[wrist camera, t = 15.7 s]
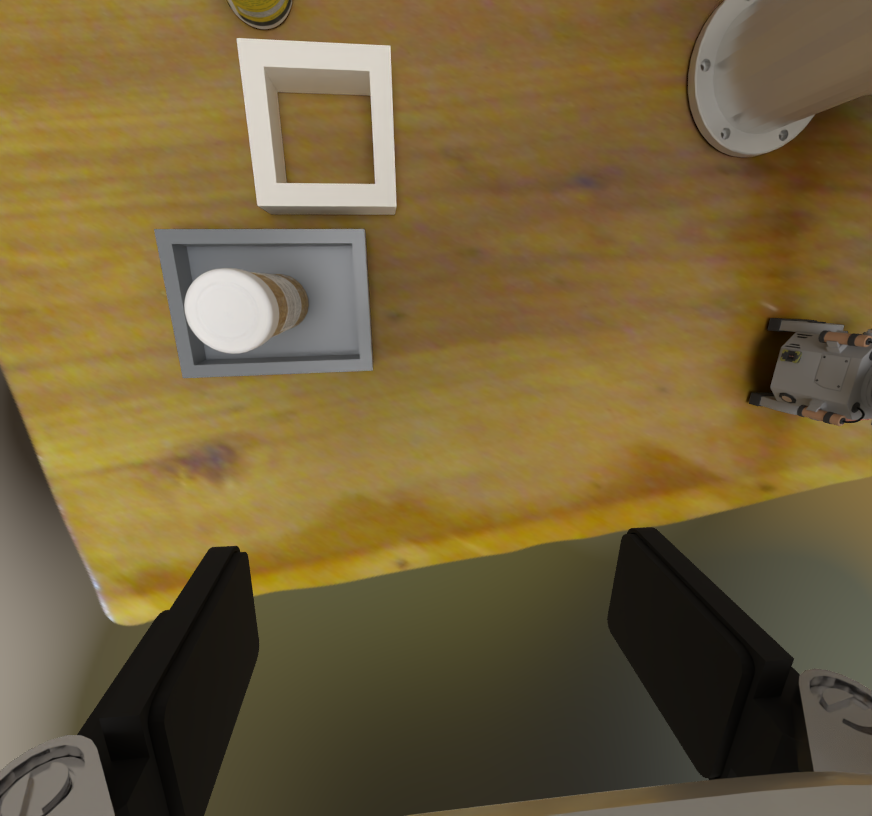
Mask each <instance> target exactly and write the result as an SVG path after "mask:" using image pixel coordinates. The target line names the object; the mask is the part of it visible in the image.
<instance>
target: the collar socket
mask: <svg viewBox="0 0 872 816" xmlns="http://www.w3.org/2000/svg"><path fill="white" fill-rule="evenodd" d="M237 45H238V53H239V61H240V69H241V77H242V85H243V93H244V101H245V109H246V117H247V125H248V133H249V141H250V149H251V157H252V165H253V173H254V181H255V189H256V197H257V205H258V206H259V207H260V208H262V209H263V210H265V211H267V212H268V213H270V214H330V215H395V211H396V207H397V206H396V180H395V154H394V128H393V102H392V76H391V50H390V46H385V45H365V44H345V43H325V42H305V41H285V40H265V39H245V38H237ZM277 92H287V93H315V94H343V95H370V96H371V113H372V132H373V152H374V172H375V184H321V183H287V179H286V170H285V160H284V151H283V141H282V132H281V122H280V113H279V103H278V94H277Z"/></svg>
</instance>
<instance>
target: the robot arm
mask: <svg viewBox="0 0 872 816" xmlns="http://www.w3.org/2000/svg"><path fill="white" fill-rule="evenodd" d="M863 95H872V0H724V1H723V2H722V3H721V4H720V5H719V6H718V7H717V8H716V9H715V10H714V11H713V13H712V14H711V16H710V17H709V19H708V20H707V21H706V23H705V24H704V26H703V28H702V30H701V32H700V34H699V36H698V39H697V41H696V44H695V47H694V50H693V53H692V56H691V61H690V67H689V73H688V96H689V103H690V109H691V112H692V115H693V118H694V121H695V123H696V125H697V127H698V129H699V131H700V132H701V134H702V135H703V137H704V138H705V139H706V140H707V141H708V142H709V144H711V145H712V146H713V147H715V148H716V149H717V150H719V151H720V152H723V153H725V154H728V155H730V156H736V157H743V158H744V157H754V156H758V155H761V154H765V153H768V152H771V151H773V150H775V149H778V148H780V147H782V146H784V145H785V144H786V143H788V142H789V141H791V140H792V139H794V138H795V137H796V136H797V135H798V134H799V133H800V132H801V131H802V130H803V129H804V128H805V127H806V126H807V125H808V123H809V122H810V121H811V119H812V118H813V117H814V115H815V114H817V113H819V112H822V111H825V110H827V109H830V108H832V107H835V106H838V105H840V104H843V103H845V102H848V101H851V100H853V99H856V98H858V97H861V96H863ZM607 620H608V626H609V629H610V632H611V634H612V635H613V637H614V639H615V640H616V642H617V643H618V645H619V647H620V648H621V650H622V651H623V653H624V654H625V656H626V658H627V659H628V661H629V663H630V664H631V666H632V667H633V669H634V671H635V672H636V674H637V675H638V677H639V678H640V680H641V682H642V683H643V685H644V687H645V688H646V690H647V691H648V693H649V695H650V696H651V698H652V699H653V701H654V703H655V704H656V706H657V707H658V709H659V711H660V712H661V714H662V715H663V717H664V718H665V720H666V722H667V723H668V725H669V726H670V728H671V730H672V731H673V733H674V734H675V736H676V738H677V739H678V741H679V742H680V744H681V746H682V747H683V749H684V750H685V752H686V754H687V755H688V757H689V758H690V760H691V762H692V763H693V765H694V766H695V768H696V769H697V771H698V772H699V773H700V774H701V775H702V776H703V777H705V778H709V780H706V781H697V782H689V783H680V784H671V785H662V786H653V787H644V788H635V789H626V790H617V791H608V792H599V793H591V794H582V795H574V796H566V797H557V798H548V799H540V800H532V801H523V802H514V803H506V804H498V805H489V806H481V807H472V808H464V809H456V810H447V811H439V812H432V813H423V814H415V815H407V816H872V690H870V689H868V688H867V687H865V686H863V685H862V684H860V683H859V682H857V681H854V680H852V679H850V678H848V677H846V676H843V675H841V674H838V673H835V672H832V671H828V670H822V669H810V670H805V671H804V672H803V673H802V674H801V675H799V673H798V672H797V671H796V670H795V669H793V668H792V667H791V666H792V663H793V660H794V658H793V657H791V655H789V653H787V652H786V651H785V650H784V649H783V648H782V647H781V646H780V645H779V644H778V643H777V642H776V641H775V640H773V638H772V637H770V636H769V635H768V634H767V633H766V632H765V631H764V630H763V629H762V628H761V627H760V626H759V625H758V624H756V622H754V621H753V620H752V619H751V618H750V617H749V616H748V615H747V614H746V613H745V612H744V611H743V610H742V609H741V608H740V607H738V605H736V604H735V603H734V602H733V601H732V600H731V599H730V598H729V597H728V596H727V595H726V594H725V593H724V592H722V590H720V589H719V588H718V587H717V586H716V585H715V584H714V583H713V582H712V581H711V580H710V579H709V578H708V577H707V576H706V575H705V574H703V573H702V572H701V571H700V570H699V569H698V568H697V567H696V566H695V565H694V564H693V563H692V562H691V561H690V560H689V559H688V558H687V557H685V556H684V555H683V554H682V553H681V552H680V551H679V550H678V549H677V548H676V547H675V546H674V545H673V544H672V543H671V542H670V541H668V540H667V539H666V538H665V537H664V536H663V535H662V534H661V533H660V532H659V531H658V530H657V529H655V528H652V527H647V528H631V529H629V531H628V532H627V534H625V535H623V537H622V540H621V544H620V550H619V556H618V561H617V567H616V573H615V578H614V583H613V589H612V595H611V601H610V606H609V611H608V619H607ZM258 652H259V637H258V630H257V622H256V614H255V606H254V598H253V591H252V583H251V575H250V567H249V560H248V554H247V553H246V552H240V549H239V547H237V546H227V547H212V548H210V549H209V550H208V552H207V553H206V555H205V556H204V558H203V559H202V561H201V562H200V564H199V565H198V567H197V568H196V570H195V571H194V573H193V575H192V576H191V578H190V579H189V581H188V582H187V584H186V585H185V587H184V588H183V590H182V591H181V593H180V595H179V596H178V598H177V599H176V601H175V602H174V604H173V605H172V607H171V608H170V610H165V611H163V612H162V613H160V614H159V615H158V616H157V618H156V619H155V620H154V622H153V623H152V625H151V626H150V628H149V629H148V631H147V632H146V634H145V635H144V637H143V638H142V640H141V641H140V642H139V644H138V645H137V647H136V649H135V650H134V652H133V653H132V654H131V656H130V657H129V659H128V660H127V662H126V663H125V665H124V666H123V668H122V669H121V671H120V672H119V674H118V675H117V677H116V678H115V679H114V681H113V683H112V684H111V685H110V687H109V688H108V690H107V691H106V693H105V694H104V696H103V697H102V699H101V700H100V702H99V703H98V705H97V706H96V708H95V709H94V711H93V712H92V714H91V715H90V716H89V718H88V719H87V721H86V723H85V724H84V725H83V727H82V728H81V730H80V731H79V733H78V734H77V735H74V736H73V735H66V736H63V737H59V738H56V739H52V740H49V741H46V742H44V743H42V744H40V745H38V746H36V747H34V748H31V749H30V750H28V751H27V752H25V753H23V754H22V755H20V756H19V757H17V758H16V759H14V760H13V761H11V762H10V763H9V764H7V765H6V766H5V767H4V768H3V769H2V770H1V771H0V816H204V814H205V811H206V808H207V805H208V802H209V799H210V796H211V793H212V791H213V788H214V785H215V782H216V779H217V776H218V773H219V770H220V767H221V764H222V761H223V758H224V755H225V752H226V749H227V746H228V743H229V740H230V737H231V734H232V731H233V728H234V726H235V723H236V720H237V717H238V714H239V711H240V708H241V705H242V702H243V699H244V696H245V693H246V690H247V687H248V684H249V682H250V679H251V676H252V673H253V670H254V667H255V664H256V661H257V657H258Z"/></svg>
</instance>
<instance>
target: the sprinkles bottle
mask: <svg viewBox="0 0 872 816" xmlns="http://www.w3.org/2000/svg"><path fill="white" fill-rule="evenodd" d="M308 306H309V304H308V297H307V294H306V291H305V290H304V288H303V287H302V285H301V284H300V283H299V282H298V281H296V280H295V279H293V278H292V277H290V276H286V275H283V274H266V273H254V272H248V271H245V270H241V269H233V268H221V269H214V270H210V271H207V272H205V273H203V274H201V275H200V276H199V277H197V278H196V279H195V280H194V281H193V282H192V284H191V285H190V287H189V289H188V291H187V293H186V296H185V303H184V309H185V315H186V319H187V322H188V325H189V326H190V328H191V330H192V331H193V333H194V334H195V335H196V336H197V337H198V338H199V339H200V340H201V341H202V342H203V343H204V344H206V345H207V346H209V347H211V348H213V349H215V350H217V351H220V352H224V353H233V354H235V353H244V352H248V351H250V350H253V349H255V348H257V347H259V346H261V345H263V344H264V343H266V342H267V341H268V340H269V339H270V338H271V337H273V336H276V335H279V334H281V333H283V332H284V331H286V330H288V329H291V328H293V327H295V326H297V325H299V324H300V323H301V322H302V321H303V319H304V318H305V316H306V314H307V312H308Z"/></svg>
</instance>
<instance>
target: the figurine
mask: <svg viewBox="0 0 872 816" xmlns="http://www.w3.org/2000/svg"><path fill="white" fill-rule="evenodd" d="M843 328H844V325H840V324H831V323H826V322H817V321H815V320H805V319H781V318H770V322H769V326H768V330H770V331H784V332H796V333H795V334H794V335H793V336H792V337H791V338H790V339H789V340H788V341H787V342H786V343H785V344H784V345H783V346H782V347H781V350H780V353H779V357H778V361H777V364H776V368H775V371H774V375H773V379H772V382H771V386H770V388H771V390H772V392H773V393H751V396H750V400H749V404H752V405H756V406H764V407H767V408H771V409H774V410H778V411H782V412H786V413H790V414H795V415H798V416H802V417H808V418H810V419H814V420H817V421H823V422H825V423H828V424H834V425H838V426H842V425H843V424H844V423H855V422H858V421H860V420H869V419H872V329H868V331H867V332H864V333H863V335H861V334H848V331H843ZM871 425H872V423H871Z"/></svg>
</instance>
